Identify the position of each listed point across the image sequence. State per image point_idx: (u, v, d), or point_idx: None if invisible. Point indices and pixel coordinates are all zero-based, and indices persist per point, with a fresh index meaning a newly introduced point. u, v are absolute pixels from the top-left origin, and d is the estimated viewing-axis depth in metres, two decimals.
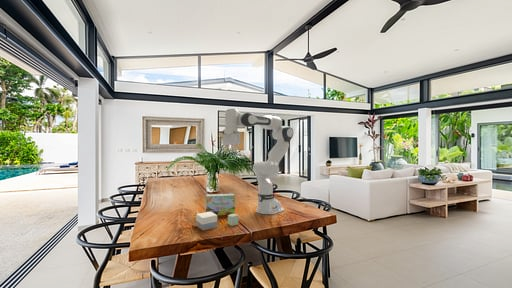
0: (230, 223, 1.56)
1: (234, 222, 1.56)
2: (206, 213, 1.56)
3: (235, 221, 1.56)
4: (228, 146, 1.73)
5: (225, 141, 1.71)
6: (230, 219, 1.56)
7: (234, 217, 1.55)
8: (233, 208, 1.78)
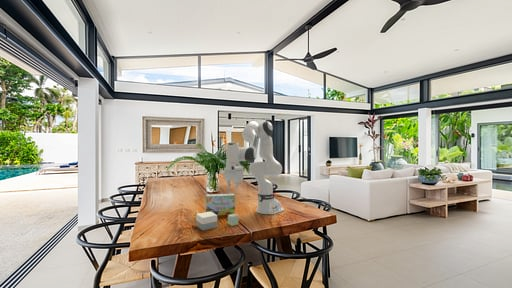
0: (230, 223, 1.56)
1: (234, 222, 1.56)
2: (206, 213, 1.56)
3: (235, 221, 1.56)
4: None
5: None
6: (230, 219, 1.56)
7: (234, 217, 1.55)
8: (233, 208, 1.78)
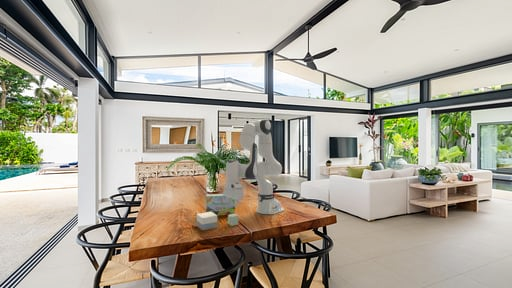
0: (230, 223, 1.56)
1: (234, 222, 1.56)
2: (207, 213, 1.56)
3: (235, 221, 1.56)
4: None
5: None
6: (230, 219, 1.56)
7: (234, 217, 1.55)
8: (233, 208, 1.78)
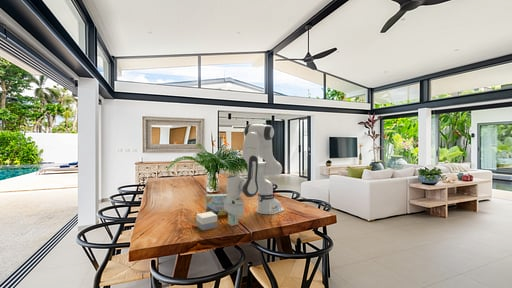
0: (230, 223, 1.56)
1: (234, 222, 1.56)
2: (207, 213, 1.56)
3: None
4: (235, 217, 1.54)
5: None
6: (230, 219, 1.56)
7: (234, 217, 1.55)
8: None
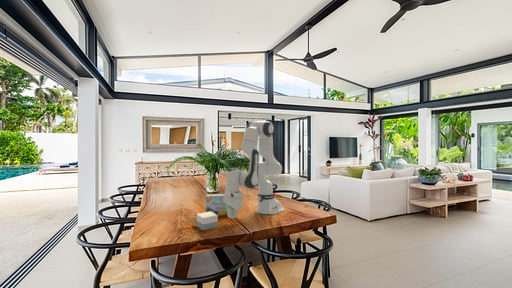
0: (229, 216, 1.57)
1: None
2: (207, 213, 1.56)
3: None
4: (234, 209, 1.55)
5: None
6: (229, 212, 1.57)
7: (233, 210, 1.56)
8: None
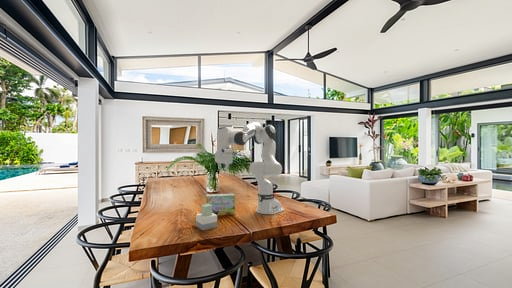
0: (203, 213, 1.51)
1: (208, 212, 1.51)
2: None
3: (208, 211, 1.51)
4: None
5: None
6: (203, 209, 1.51)
7: (208, 207, 1.51)
8: (233, 208, 1.78)
